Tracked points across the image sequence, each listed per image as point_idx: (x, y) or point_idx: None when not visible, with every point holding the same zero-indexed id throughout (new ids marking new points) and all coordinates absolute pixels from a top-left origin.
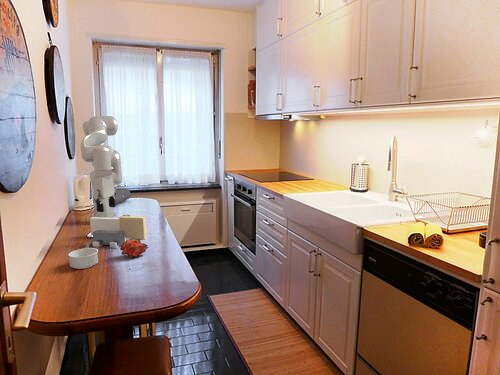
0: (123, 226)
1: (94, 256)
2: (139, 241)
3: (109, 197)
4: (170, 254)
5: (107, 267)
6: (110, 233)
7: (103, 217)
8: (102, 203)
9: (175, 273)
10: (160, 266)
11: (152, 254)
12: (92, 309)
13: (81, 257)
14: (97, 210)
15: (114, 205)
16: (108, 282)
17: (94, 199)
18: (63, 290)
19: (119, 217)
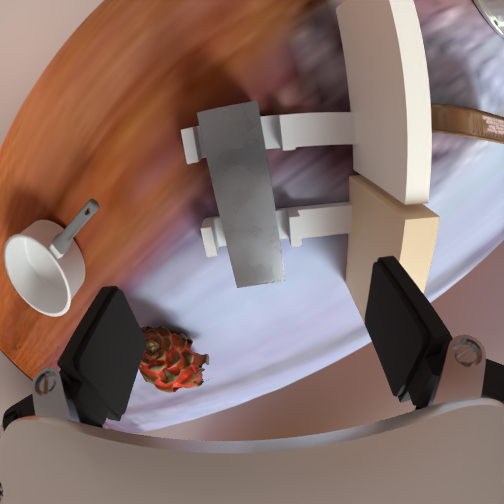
0: (375, 216)
1: (55, 307)
2: (190, 380)
3: (435, 380)
4: (226, 395)
5: None
6: (224, 235)
7: (500, 3)
8: (111, 418)
9: (149, 416)
10: (157, 398)
11: (208, 369)
12: (24, 364)
13: (23, 296)
14: (100, 300)
15: (370, 335)
16: (57, 353)
17: (5, 428)
18: (2, 304)
19: (486, 122)
